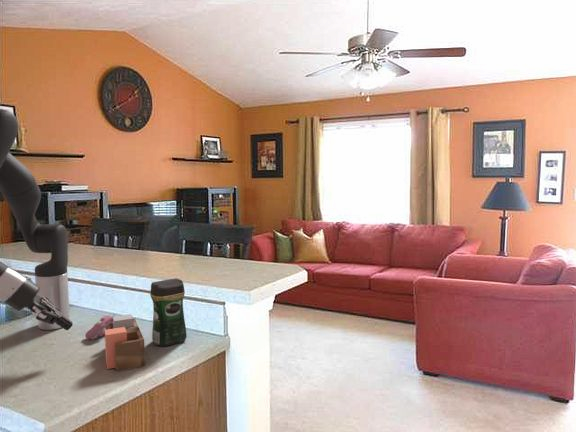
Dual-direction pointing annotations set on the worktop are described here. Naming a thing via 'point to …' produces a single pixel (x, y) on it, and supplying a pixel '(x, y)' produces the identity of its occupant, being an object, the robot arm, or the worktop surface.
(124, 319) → the light grey block
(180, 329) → the coffee jar
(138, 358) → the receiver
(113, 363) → the salmon orange block
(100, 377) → the worktop surface
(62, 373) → the worktop surface
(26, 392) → the worktop surface
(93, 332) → the video game controller
